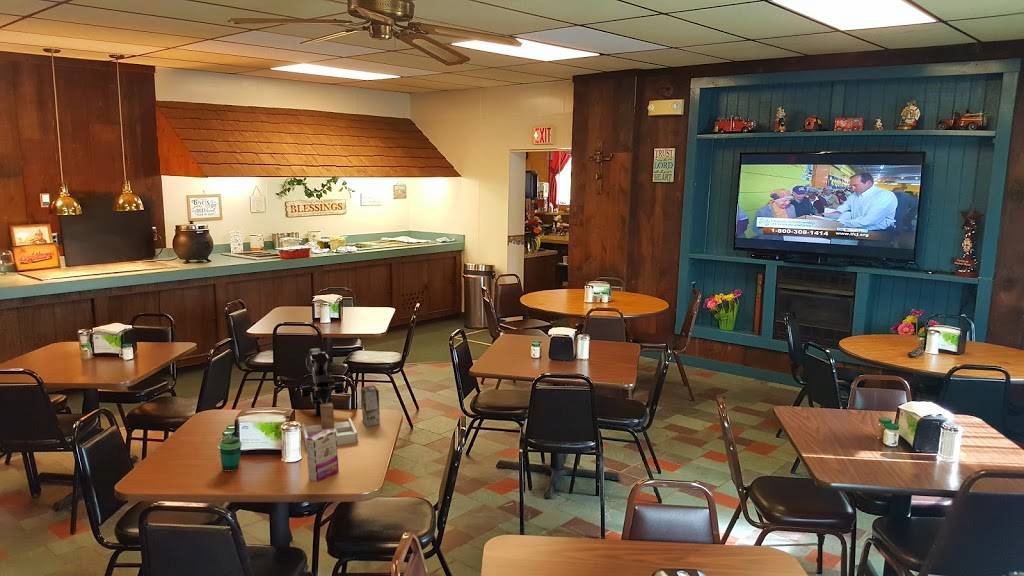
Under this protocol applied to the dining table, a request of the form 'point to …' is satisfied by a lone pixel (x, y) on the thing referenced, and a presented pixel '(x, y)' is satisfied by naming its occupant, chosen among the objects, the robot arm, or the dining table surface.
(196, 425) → the dining table surface
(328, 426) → the block
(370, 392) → the coffee box
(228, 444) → the cup
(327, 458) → the candy bar box
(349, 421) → the trap box
